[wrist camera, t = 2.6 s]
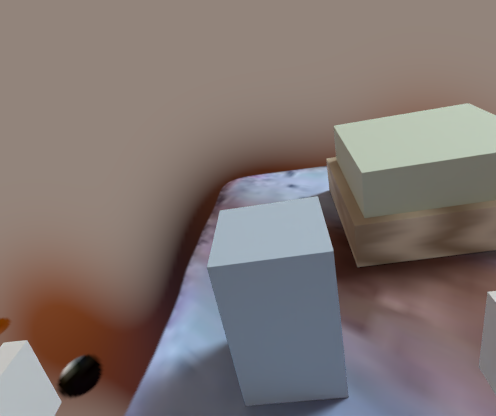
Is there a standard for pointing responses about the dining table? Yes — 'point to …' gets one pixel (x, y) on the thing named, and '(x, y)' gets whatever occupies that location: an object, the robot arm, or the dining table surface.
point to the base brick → (411, 228)
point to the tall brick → (279, 301)
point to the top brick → (419, 160)
